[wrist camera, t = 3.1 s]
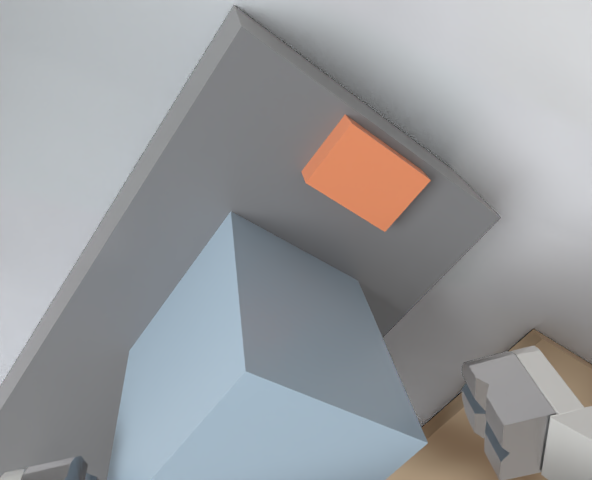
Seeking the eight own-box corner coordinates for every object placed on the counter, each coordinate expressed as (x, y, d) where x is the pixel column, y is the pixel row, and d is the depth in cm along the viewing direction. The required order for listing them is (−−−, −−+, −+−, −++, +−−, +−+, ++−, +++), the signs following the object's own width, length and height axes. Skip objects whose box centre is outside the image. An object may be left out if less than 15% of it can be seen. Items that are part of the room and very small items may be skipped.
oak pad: (475, 558, 30) (480, 569, 29) (319, 517, 25) (322, 529, 24) (677, 416, 25) (686, 426, 24) (533, 328, 20) (542, 339, 19)
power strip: (120, 539, 23) (107, 631, 20) (-70, 501, 20) (-119, 604, 17) (453, 169, 16) (513, 229, 13) (233, 4, 12) (243, 31, 9)
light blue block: (248, 349, 17) (272, 577, 11) (137, 303, 15) (95, 543, 9) (341, 241, 15) (427, 442, 9) (227, 175, 13) (245, 371, 8)
